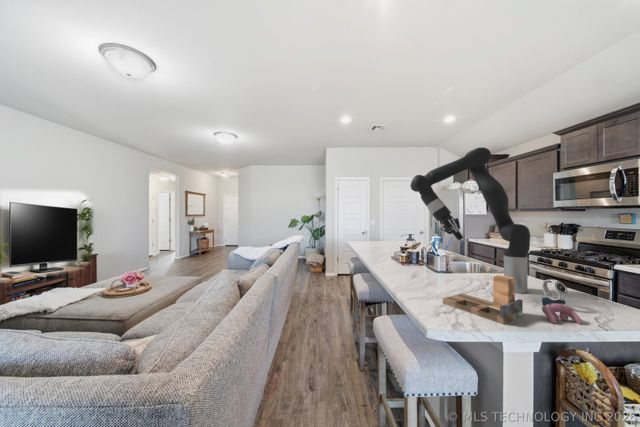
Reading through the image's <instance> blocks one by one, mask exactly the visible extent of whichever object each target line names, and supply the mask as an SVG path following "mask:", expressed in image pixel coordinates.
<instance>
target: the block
mask: <svg viewBox="0 0 640 427" xmlns="http://www.w3.org/2000/svg"><path fill="white" fill-rule="evenodd" d="M492 281H493V282H492V284H493V285H492V287H493V288H492V291H493V295H492V296H493V299H492V300H493V301H492V302H493V308H497V309H500V306H502V305H505V304H507V303H510V302H513V301H516V298H515V297H516V295H515V294H516V293H515V278H512V277H507V276H504V275H501V274H500V275H495V276H492Z"/></svg>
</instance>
